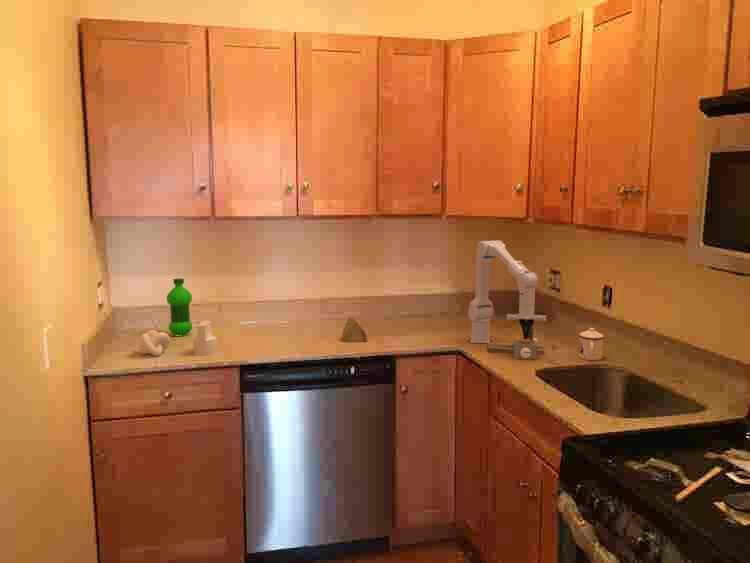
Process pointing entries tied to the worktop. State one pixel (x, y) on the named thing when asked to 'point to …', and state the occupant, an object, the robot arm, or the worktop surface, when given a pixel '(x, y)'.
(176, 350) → the worktop surface
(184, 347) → the worktop surface
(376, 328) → the worktop surface
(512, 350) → the board
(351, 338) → the rock
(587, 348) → the teacup with lid
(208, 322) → the cylinder with rectangular tab
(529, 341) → the button
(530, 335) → the carriage
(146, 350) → the beige knot
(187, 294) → the plastic bottle
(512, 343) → the guide rail
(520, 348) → the gauge box
